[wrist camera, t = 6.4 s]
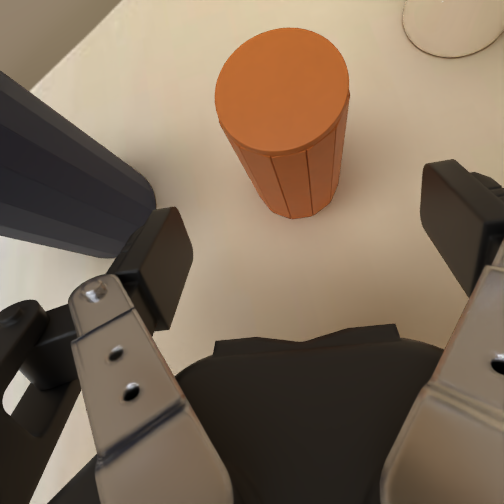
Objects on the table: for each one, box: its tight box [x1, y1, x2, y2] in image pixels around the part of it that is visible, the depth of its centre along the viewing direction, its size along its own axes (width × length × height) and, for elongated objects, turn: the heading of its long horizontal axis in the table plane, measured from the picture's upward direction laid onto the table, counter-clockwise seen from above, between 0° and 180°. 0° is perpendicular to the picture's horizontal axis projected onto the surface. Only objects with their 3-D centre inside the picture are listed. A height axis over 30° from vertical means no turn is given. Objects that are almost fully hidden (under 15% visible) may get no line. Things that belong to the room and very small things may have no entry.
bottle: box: [0, 71, 156, 258], centre depth 16 cm, size 7×7×16 cm
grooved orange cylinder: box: [215, 28, 350, 219], centre depth 17 cm, size 5×5×10 cm
